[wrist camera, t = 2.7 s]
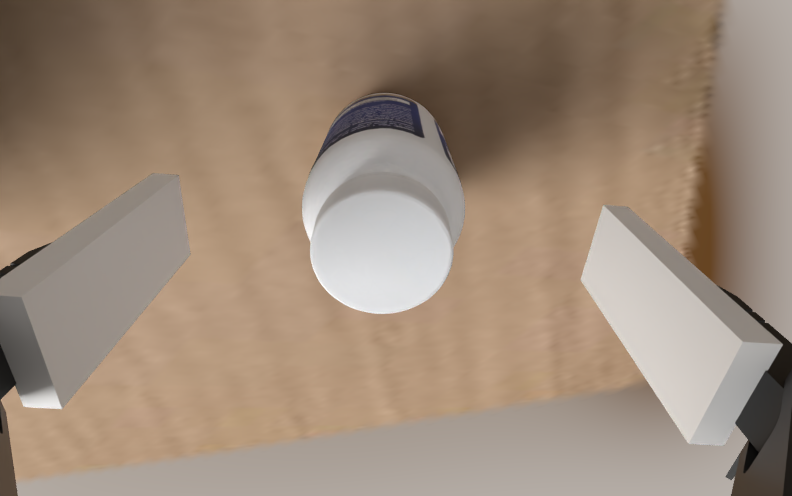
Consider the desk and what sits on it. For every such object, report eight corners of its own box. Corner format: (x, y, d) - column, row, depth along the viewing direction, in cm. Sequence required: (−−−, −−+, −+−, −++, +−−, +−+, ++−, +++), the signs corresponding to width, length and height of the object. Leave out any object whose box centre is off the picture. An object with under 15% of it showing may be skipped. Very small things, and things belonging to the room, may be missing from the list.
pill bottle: (303, 161, 21) (244, 271, 13) (373, 63, 19) (358, 116, 11) (396, 226, 23) (398, 362, 14) (468, 142, 21) (521, 241, 12)
